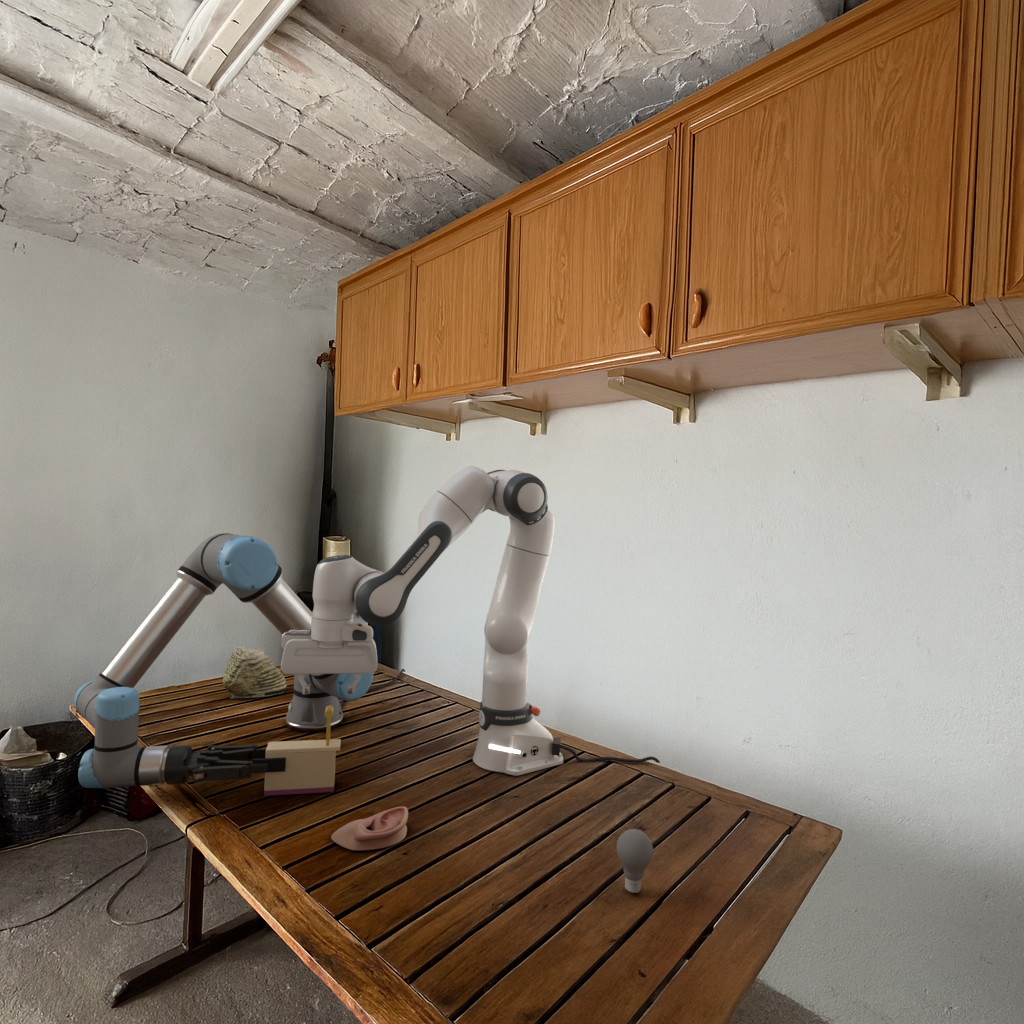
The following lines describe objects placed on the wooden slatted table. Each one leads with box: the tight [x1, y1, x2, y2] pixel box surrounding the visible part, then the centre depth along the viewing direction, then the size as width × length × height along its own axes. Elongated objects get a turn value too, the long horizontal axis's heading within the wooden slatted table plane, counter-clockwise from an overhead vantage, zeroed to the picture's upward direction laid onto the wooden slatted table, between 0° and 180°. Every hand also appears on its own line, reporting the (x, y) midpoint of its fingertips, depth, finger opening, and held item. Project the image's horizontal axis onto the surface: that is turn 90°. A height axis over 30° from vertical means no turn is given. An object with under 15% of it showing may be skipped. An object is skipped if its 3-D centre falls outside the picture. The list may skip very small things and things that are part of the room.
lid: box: [265, 705, 342, 754], centre depth 137 cm, size 15×4×9 cm, turn 103°
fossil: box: [222, 646, 288, 699], centre depth 198 cm, size 9×18×15 cm, turn 132°
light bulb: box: [615, 828, 654, 894], centre depth 106 cm, size 6×6×10 cm
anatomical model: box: [330, 805, 409, 852], centre depth 119 cm, size 13×4×12 cm
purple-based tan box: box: [263, 751, 337, 797], centre depth 137 cm, size 14×5×9 cm, turn 103°
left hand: (286, 759), depth 136 cm, fingers closed on purple-based tan box, 4 cm apart
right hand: (328, 693), depth 138 cm, fingers open, 8 cm apart
